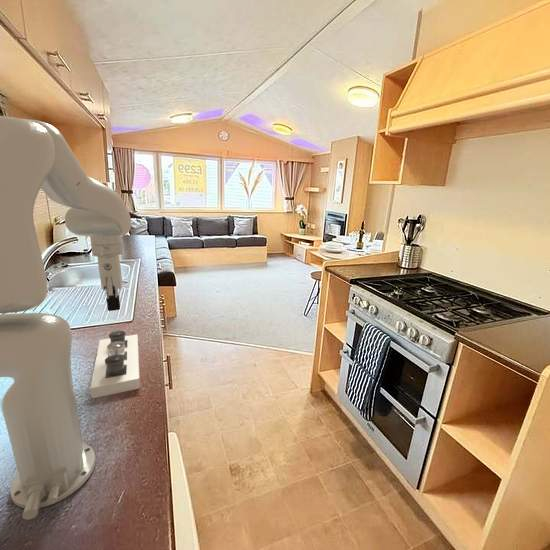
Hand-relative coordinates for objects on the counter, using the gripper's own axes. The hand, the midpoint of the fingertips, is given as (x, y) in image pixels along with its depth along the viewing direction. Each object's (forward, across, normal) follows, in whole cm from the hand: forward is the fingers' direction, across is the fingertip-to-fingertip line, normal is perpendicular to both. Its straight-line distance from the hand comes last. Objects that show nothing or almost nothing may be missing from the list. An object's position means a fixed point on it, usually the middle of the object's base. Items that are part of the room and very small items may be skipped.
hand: (114, 308), depth 91 cm
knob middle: (+12, -7, 0) cm, 14 cm away
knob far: (+12, 0, 0) cm, 12 cm away
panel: (+15, -8, 0) cm, 17 cm away
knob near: (+12, -15, 0) cm, 19 cm away
